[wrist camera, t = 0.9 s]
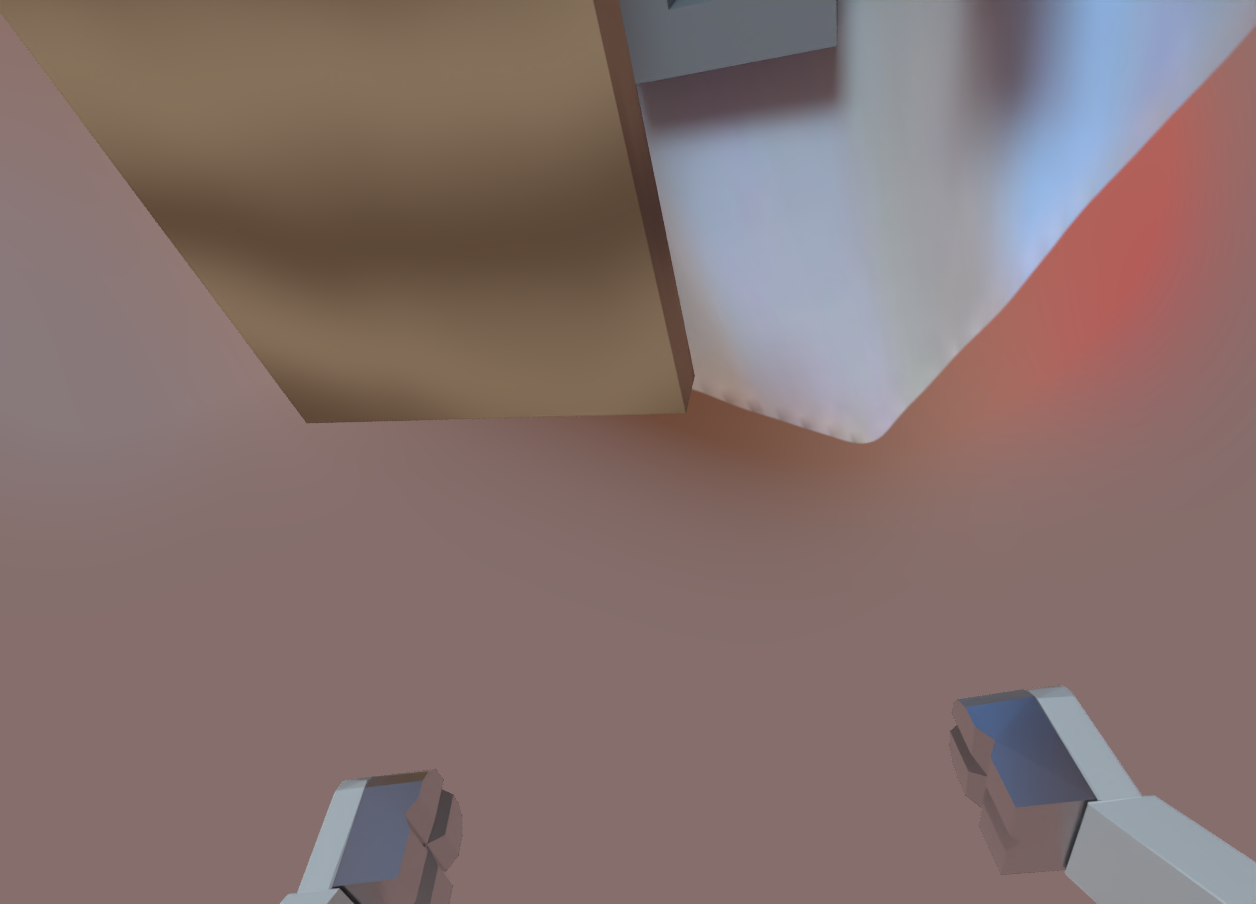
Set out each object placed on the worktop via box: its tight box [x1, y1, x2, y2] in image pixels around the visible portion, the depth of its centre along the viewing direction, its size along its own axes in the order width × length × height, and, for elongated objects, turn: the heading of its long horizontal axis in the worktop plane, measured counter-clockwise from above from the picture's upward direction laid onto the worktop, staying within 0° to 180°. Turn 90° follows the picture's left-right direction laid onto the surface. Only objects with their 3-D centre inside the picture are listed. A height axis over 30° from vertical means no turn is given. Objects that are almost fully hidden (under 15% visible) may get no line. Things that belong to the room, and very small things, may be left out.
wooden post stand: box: [0, 0, 695, 423], centre depth 26 cm, size 12×12×34 cm
